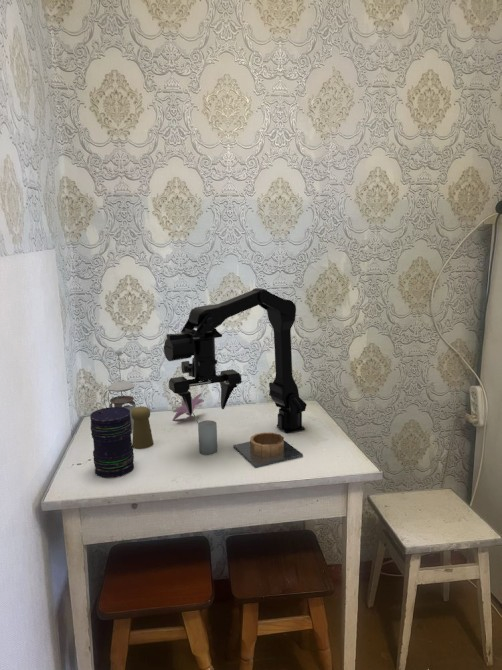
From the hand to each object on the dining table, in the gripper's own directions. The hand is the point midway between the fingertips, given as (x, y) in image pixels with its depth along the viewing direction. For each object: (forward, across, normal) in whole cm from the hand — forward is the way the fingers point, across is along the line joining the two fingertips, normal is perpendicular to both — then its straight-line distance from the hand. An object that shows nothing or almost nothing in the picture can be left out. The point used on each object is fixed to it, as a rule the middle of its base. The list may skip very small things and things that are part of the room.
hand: (206, 411), depth 136 cm
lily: (+12, -3, -25) cm, 28 cm away
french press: (+12, +18, -28) cm, 35 cm away
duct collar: (+11, -14, +8) cm, 20 cm away
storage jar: (+12, +25, -1) cm, 28 cm away
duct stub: (+11, 0, 0) cm, 11 cm away
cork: (+12, +15, -13) cm, 23 cm away
